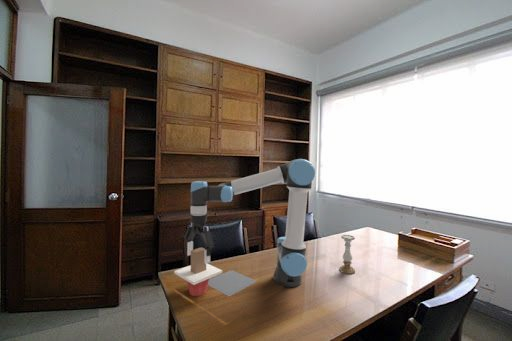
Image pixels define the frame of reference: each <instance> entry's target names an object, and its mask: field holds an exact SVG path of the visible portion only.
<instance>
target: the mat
mask: <svg viewBox="0 0 512 341" xmlns="http://www.w3.org/2000/svg"><path fill="white" fill-rule="evenodd" d="M257 282H258V280H255V279H253V278H251V277H248V276H246V275H244V274H243V273H239V272H237V271H235V270H231V269H229V270H227V271H226V272H222V273H221V274H219V275H216V276H214V277H212V278H209V282H208V287H211V288H212V289H214V290H216V291H217V292H219V293H221V294H223V295H225V296H226V297H231V296H233V295H235V294H237V293H239V292H241V291H242V290H244V289H246V288H248V287H250V286H252V285H254V284H255V283H257Z"/></svg>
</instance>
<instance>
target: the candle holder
mask: <svg viewBox="0 0 512 341" xmlns="http://www.w3.org/2000/svg"><path fill="white" fill-rule="evenodd" d="M340 237H341V239H342V240H343V241H344V248H345V249H344V252H343V254H342V263H343V264H342V265H341V266H340V267H338V268H339V272H341V273H343V274H347V275H353V274H355V272H356V269H355V268H354V267H353V266H352V260H353V254H352V253H351V252H352V251H351V248H352V245H351V243H352V241H355V240H356V237H355V236H354V235H350V234H342V235H341V236H340Z"/></svg>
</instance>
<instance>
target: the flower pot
mask: <svg viewBox="0 0 512 341" xmlns="http://www.w3.org/2000/svg"><path fill="white" fill-rule="evenodd" d="M209 279H210V278H209ZM209 279H207V280H204V281H202V282H200V283H197V284H195V285H193V284H191V283H190V282H188V281H186V283H187V288H188V293H189V295H190V296H193V297H200V296H203V295H205V294H206V293H207V292H208V287H209V286H208V282H209Z"/></svg>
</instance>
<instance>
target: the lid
mask: <svg viewBox="0 0 512 341" xmlns="http://www.w3.org/2000/svg"><path fill="white" fill-rule="evenodd" d="M204 255H205V248H204V247H198V248H195V249H194V248H193V250H191V255H190V265H187V266H185V267H182V268H179V269H176V270H174V272H173V273H174V275H177V277H179V278H180V279H181V278H182V279H183V280H184V281H186V282H187V281H188V282H190V283H191V284H193V285H195V284H197V283H200V282H202V281H204V280H207V279H211V278H214V277H216V276H218V275H221V274H223V270H222V269H221V268H218V267H216V266H214V265H212V264H209V263H206V264H205V263H204Z"/></svg>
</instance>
